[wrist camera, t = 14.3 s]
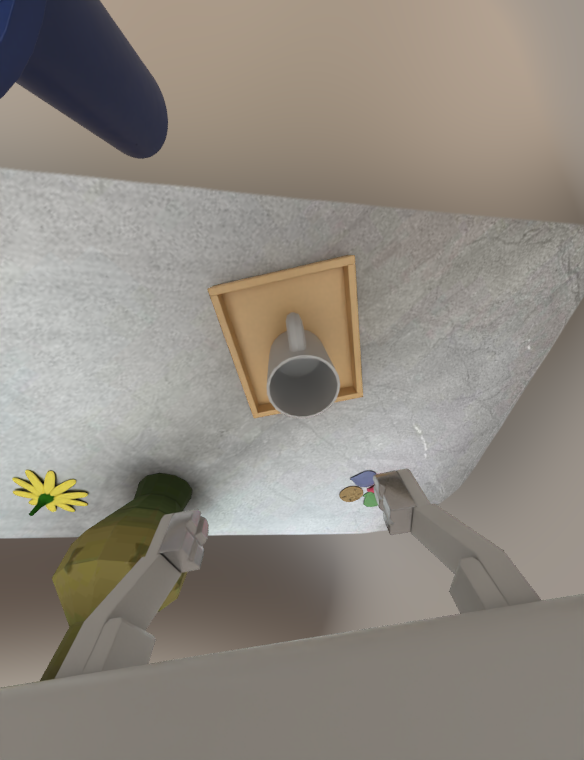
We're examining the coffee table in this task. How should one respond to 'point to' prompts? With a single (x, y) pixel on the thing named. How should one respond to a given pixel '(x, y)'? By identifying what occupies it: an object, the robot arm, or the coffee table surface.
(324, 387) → the cup
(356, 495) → the toy pieces
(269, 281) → the tray
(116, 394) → the coffee table surface
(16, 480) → the flower
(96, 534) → the vase
